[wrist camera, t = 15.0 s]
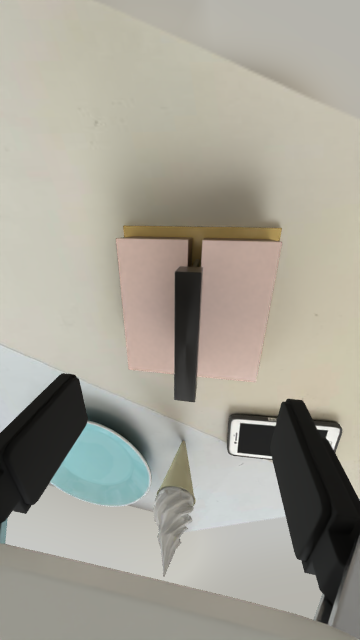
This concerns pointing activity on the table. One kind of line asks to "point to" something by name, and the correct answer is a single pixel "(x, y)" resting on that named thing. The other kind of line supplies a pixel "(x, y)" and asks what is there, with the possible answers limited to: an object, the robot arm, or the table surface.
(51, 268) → the table surface
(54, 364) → the table surface
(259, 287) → the cake
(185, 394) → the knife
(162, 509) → the ice cream cone
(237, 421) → the cell phone
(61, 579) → the robot arm
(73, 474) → the plate
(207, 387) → the table surface
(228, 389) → the table surface
